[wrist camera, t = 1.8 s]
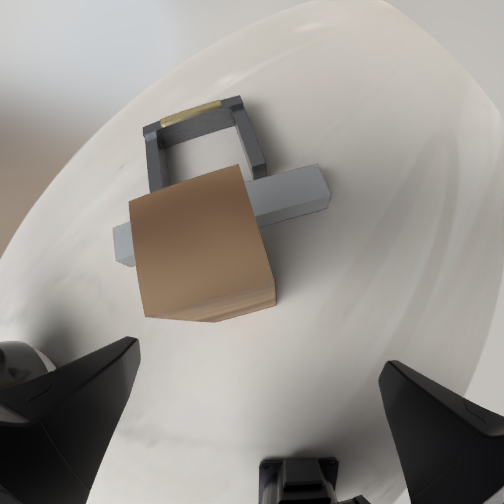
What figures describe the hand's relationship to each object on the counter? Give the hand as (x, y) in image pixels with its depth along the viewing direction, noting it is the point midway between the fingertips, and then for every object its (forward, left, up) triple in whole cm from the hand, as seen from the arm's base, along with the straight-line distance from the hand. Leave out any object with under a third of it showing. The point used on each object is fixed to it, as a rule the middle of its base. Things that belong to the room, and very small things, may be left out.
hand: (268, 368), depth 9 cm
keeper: (+16, +6, -12) cm, 21 cm away
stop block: (+5, +3, -12) cm, 13 cm away
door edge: (+10, +4, -12) cm, 16 cm away
